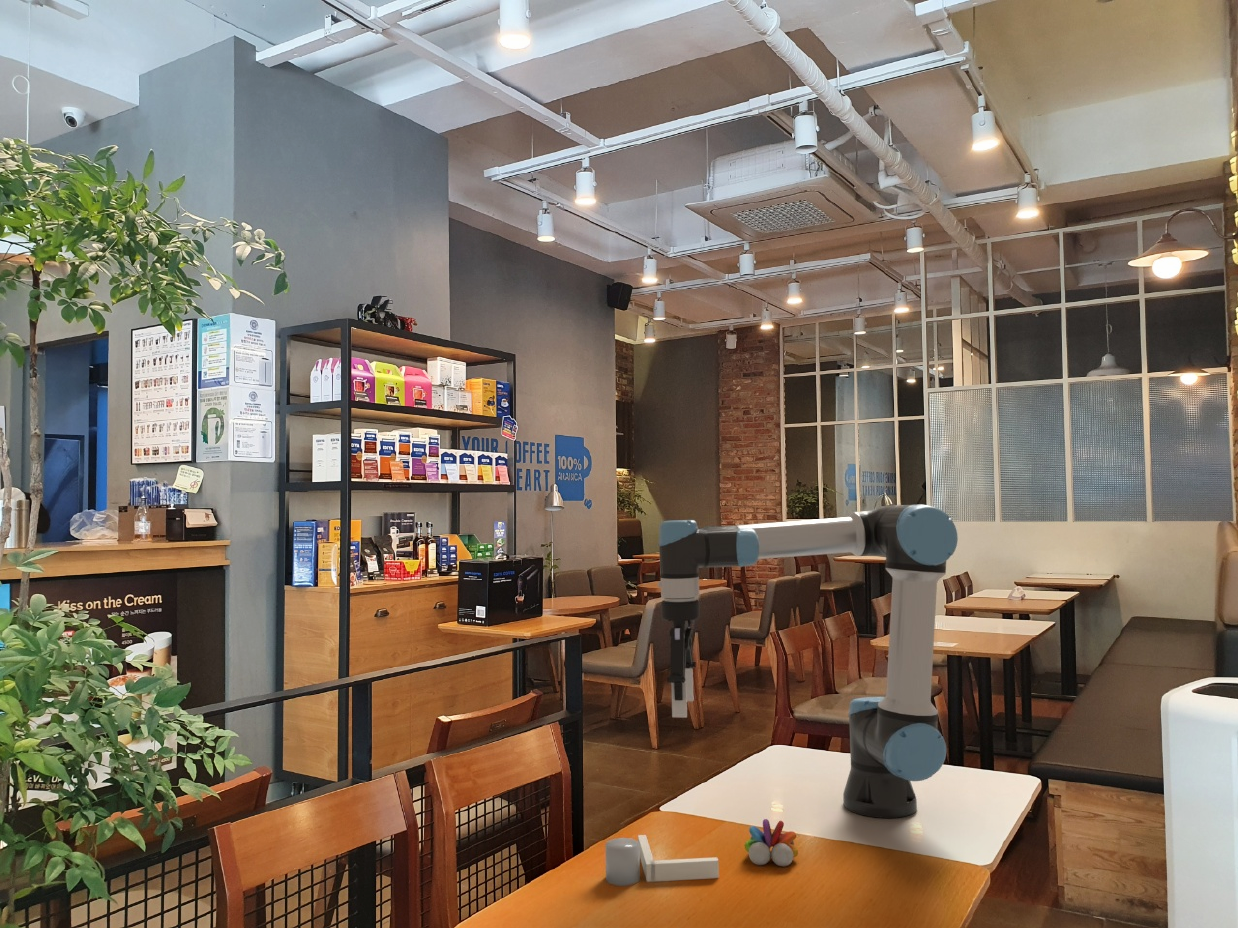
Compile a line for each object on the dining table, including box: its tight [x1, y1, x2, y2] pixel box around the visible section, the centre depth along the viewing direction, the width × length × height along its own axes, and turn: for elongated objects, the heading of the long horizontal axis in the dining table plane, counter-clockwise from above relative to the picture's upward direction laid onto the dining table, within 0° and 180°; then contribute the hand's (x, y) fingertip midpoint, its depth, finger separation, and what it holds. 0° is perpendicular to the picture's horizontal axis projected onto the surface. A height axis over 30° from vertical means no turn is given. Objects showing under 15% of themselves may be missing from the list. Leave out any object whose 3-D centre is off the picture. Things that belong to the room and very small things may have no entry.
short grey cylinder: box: [604, 837, 641, 887], centre depth 161 cm, size 6×6×6 cm
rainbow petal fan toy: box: [744, 818, 799, 867], centre depth 169 cm, size 8×10×7 cm
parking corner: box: [637, 834, 720, 883], centre depth 167 cm, size 13×14×3 cm
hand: (683, 708), depth 178 cm, fingers open, 13 cm apart
